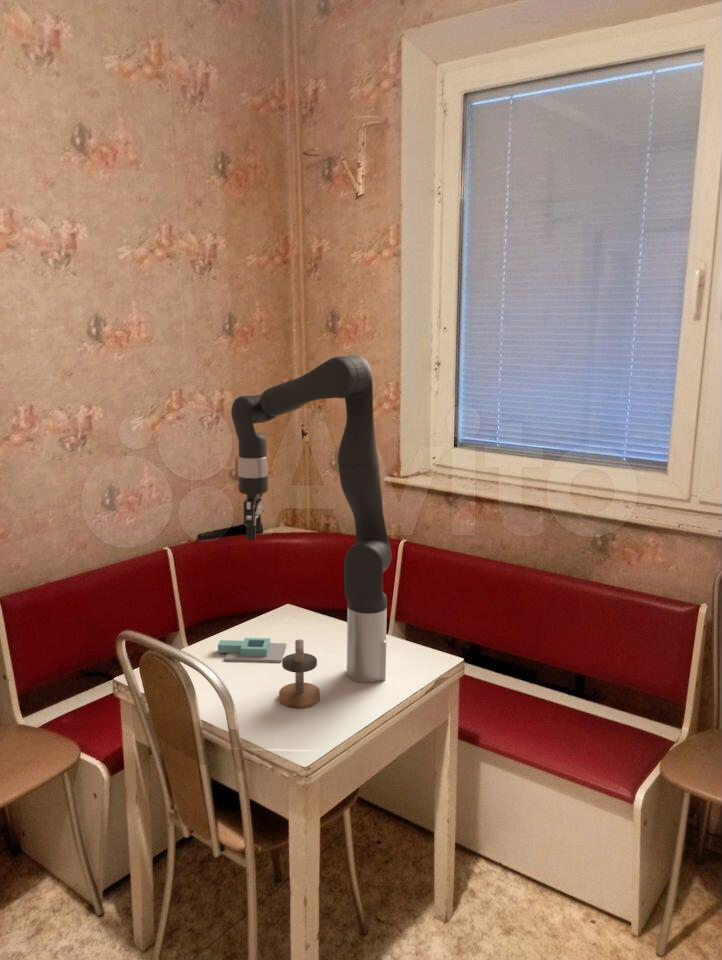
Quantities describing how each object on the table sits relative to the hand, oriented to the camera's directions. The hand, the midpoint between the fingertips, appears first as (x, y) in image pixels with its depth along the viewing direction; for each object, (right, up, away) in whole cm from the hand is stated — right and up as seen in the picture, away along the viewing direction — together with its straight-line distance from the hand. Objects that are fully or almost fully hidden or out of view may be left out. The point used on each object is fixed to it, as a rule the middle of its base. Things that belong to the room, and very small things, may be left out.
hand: (253, 535), depth 184 cm
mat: (+1, -30, -5) cm, 30 cm away
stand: (+14, -34, -27) cm, 46 cm away
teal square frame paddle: (-2, -29, -5) cm, 29 cm away
